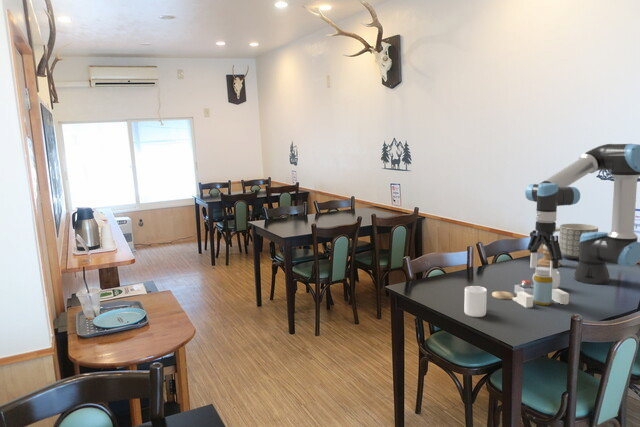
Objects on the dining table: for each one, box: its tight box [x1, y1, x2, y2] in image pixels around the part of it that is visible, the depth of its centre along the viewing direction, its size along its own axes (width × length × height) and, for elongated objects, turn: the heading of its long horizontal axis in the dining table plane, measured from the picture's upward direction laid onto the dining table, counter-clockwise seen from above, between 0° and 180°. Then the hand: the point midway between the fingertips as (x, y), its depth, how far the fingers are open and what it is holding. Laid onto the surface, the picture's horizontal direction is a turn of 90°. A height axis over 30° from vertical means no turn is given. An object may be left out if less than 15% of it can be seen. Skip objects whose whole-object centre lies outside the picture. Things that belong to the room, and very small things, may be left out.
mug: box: [532, 270, 561, 289], centre depth 225 cm, size 12×8×8 cm
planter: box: [558, 223, 599, 261], centre depth 275 cm, size 19×19×18 cm
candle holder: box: [537, 226, 561, 268], centre depth 263 cm, size 12×12×20 cm
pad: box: [491, 290, 515, 300], centre depth 215 cm, size 9×9×1 cm
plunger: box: [520, 279, 532, 289], centre depth 216 cm, size 4×4×5 cm
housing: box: [512, 284, 570, 309], centre depth 210 cm, size 19×19×4 cm
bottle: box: [533, 266, 553, 307], centre depth 204 cm, size 7×7×15 cm
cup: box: [463, 285, 488, 318], centre depth 195 cm, size 8×12×10 cm
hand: (543, 271), depth 203 cm, fingers open, 13 cm apart
